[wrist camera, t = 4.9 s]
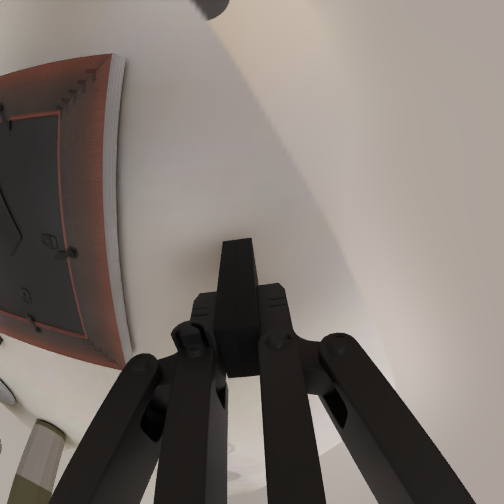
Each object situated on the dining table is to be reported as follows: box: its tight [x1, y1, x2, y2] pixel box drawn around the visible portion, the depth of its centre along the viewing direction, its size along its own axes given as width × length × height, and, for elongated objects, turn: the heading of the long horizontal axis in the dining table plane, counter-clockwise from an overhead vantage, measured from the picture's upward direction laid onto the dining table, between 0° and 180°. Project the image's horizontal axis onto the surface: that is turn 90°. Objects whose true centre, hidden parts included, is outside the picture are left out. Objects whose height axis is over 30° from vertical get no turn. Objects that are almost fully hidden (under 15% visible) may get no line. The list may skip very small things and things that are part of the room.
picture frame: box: [0, 54, 133, 370], centre depth 15 cm, size 16×2×22 cm
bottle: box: [7, 420, 66, 504], centre depth 20 cm, size 7×7×30 cm
